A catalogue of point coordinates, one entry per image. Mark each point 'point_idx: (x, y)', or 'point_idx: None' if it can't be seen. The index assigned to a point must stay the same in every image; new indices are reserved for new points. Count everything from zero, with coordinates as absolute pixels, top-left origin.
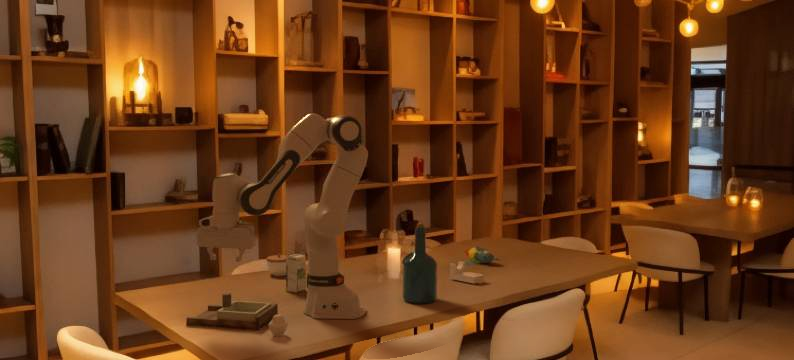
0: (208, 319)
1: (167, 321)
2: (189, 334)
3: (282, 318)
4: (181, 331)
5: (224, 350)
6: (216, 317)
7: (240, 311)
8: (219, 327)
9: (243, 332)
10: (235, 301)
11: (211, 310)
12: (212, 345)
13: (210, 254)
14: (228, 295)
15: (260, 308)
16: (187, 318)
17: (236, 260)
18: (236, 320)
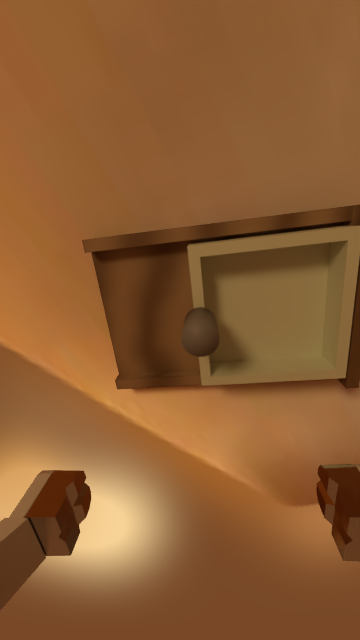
0: (183, 385)
1: (56, 363)
2: (176, 431)
3: None
4: (144, 418)
5: (306, 492)
6: (170, 320)
7: (227, 267)
8: None
9: (298, 388)
10: (199, 257)
11: (107, 255)
12: (266, 475)
13: (26, 565)
14: (214, 350)
15: (341, 316)
16: (120, 388)
17: (327, 509)
18: None
